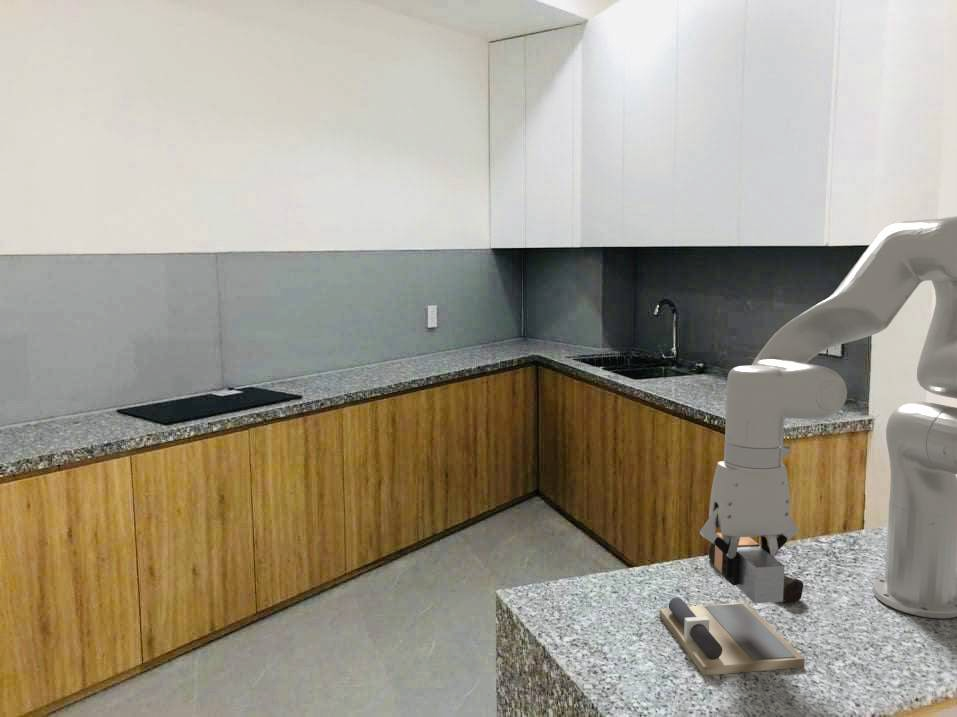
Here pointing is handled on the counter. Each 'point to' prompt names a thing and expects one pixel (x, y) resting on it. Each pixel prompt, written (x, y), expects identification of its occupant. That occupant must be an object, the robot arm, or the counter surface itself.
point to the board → (736, 640)
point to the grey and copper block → (756, 572)
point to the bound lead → (695, 628)
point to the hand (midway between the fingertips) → (747, 579)
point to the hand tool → (791, 586)
